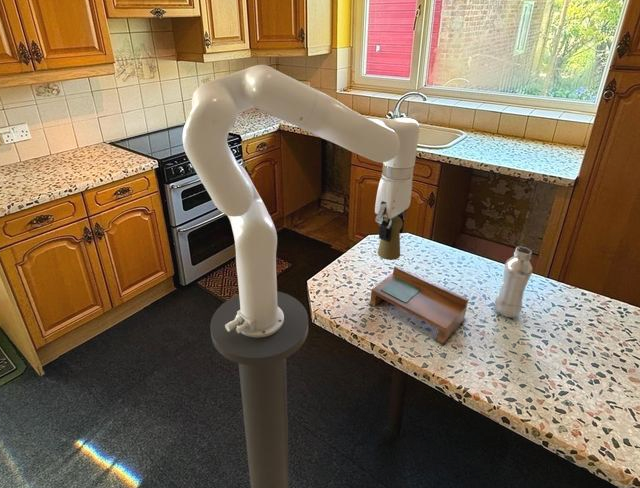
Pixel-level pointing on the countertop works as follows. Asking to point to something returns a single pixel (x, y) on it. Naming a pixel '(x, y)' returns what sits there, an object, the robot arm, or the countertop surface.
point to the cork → (393, 247)
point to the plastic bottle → (514, 283)
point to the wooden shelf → (422, 300)
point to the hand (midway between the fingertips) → (390, 234)
